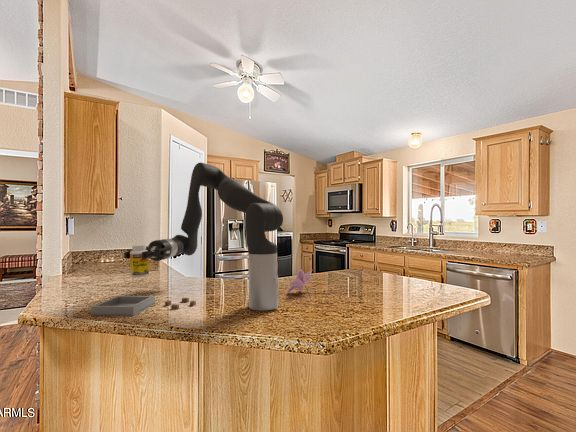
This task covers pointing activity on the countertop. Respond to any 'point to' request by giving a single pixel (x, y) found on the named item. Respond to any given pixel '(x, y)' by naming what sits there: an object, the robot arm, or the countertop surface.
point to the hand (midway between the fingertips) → (134, 255)
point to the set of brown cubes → (176, 306)
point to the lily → (300, 281)
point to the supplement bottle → (138, 261)
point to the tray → (123, 306)
